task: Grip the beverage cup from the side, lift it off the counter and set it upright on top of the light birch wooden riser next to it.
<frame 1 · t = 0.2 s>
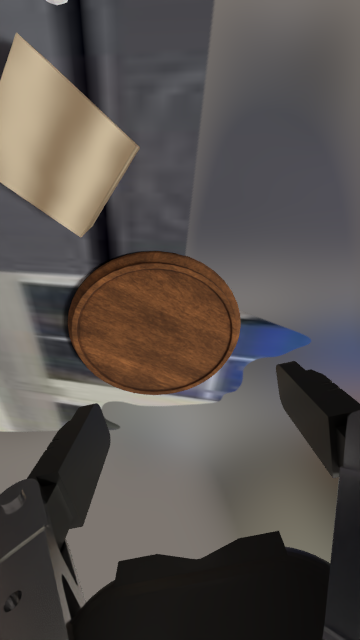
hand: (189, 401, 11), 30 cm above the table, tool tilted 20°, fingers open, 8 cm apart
wooden riser: (71, 155, 30), on the table
cutting board: (156, 332, 47), on the table
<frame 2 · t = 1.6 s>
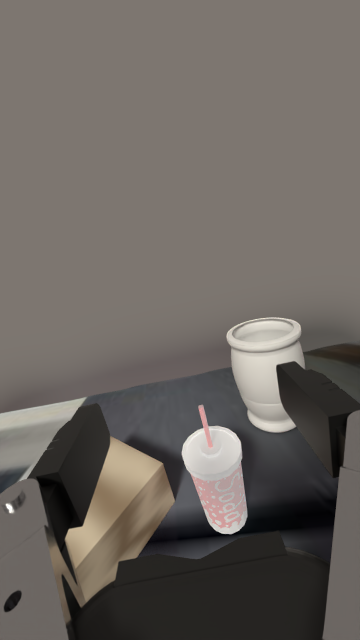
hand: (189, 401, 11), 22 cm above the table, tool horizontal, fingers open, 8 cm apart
beverage cup: (226, 512, 27), on the table
wooden riser: (106, 522, 29), on the table
jar: (274, 415, 40), on the table
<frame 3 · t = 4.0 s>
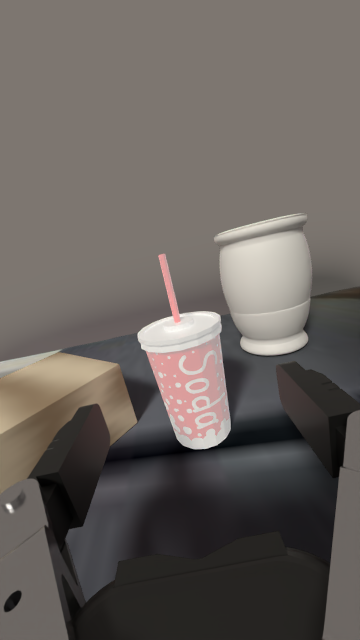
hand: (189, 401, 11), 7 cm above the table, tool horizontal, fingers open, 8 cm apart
beverage cup: (203, 429, 20), on the table
wooden riser: (45, 446, 22), on the table
jar: (273, 344, 32), on the table
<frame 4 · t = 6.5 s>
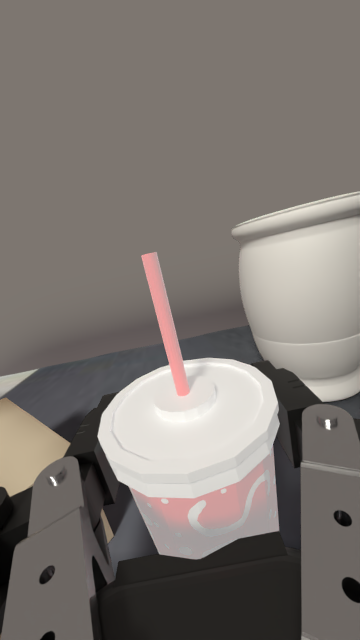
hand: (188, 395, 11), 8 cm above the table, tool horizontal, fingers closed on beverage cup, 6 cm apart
beverage cup: (228, 572, 11), on the table, touching gripper
jar: (311, 378, 23), on the table
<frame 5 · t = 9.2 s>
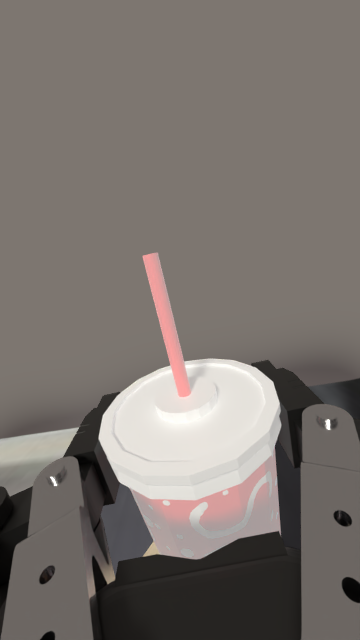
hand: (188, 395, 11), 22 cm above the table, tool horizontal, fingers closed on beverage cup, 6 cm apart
beverage cup: (229, 573, 11), point 14 cm above the table, touching gripper
when the fingers open (15 cm above the table, at t = 11.8 s): beverage cup drops 1 cm, resting on wooden riser.
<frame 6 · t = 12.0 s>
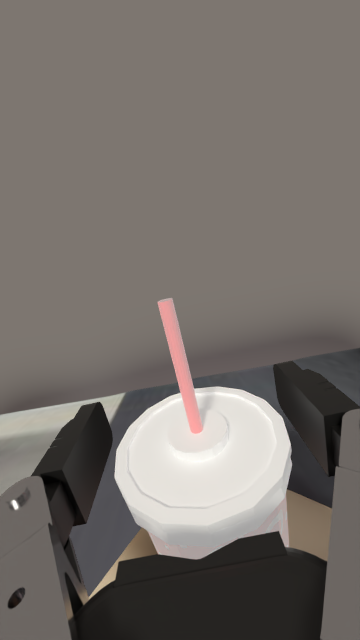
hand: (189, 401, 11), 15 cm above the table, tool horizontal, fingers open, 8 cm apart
beverage cup: (238, 598, 11), point 6 cm above the table, touching wooden riser
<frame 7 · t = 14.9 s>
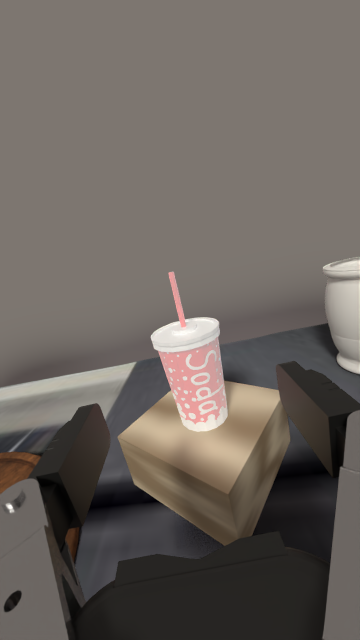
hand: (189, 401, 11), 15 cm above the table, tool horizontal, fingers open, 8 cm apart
beverage cup: (204, 416, 24), point 6 cm above the table, touching wooden riser
wooden riser: (213, 461, 25), on the table
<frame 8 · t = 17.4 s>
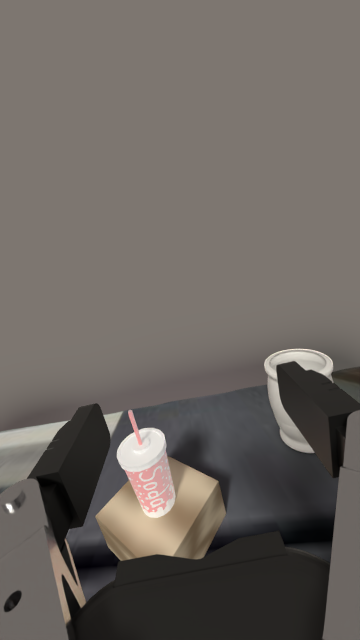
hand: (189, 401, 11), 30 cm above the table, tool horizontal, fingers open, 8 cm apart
beverage cup: (159, 500, 32), point 6 cm above the table, touching wooden riser
wooden riser: (168, 530, 34), on the table
jar: (304, 436, 44), on the table
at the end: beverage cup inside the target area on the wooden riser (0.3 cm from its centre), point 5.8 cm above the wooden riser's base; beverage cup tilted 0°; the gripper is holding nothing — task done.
